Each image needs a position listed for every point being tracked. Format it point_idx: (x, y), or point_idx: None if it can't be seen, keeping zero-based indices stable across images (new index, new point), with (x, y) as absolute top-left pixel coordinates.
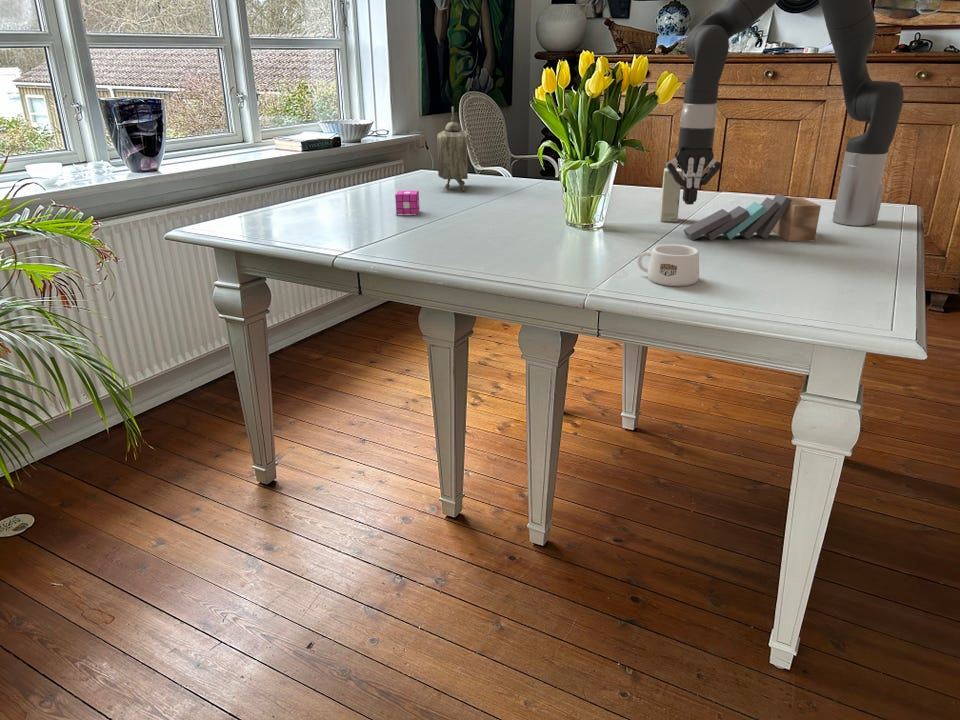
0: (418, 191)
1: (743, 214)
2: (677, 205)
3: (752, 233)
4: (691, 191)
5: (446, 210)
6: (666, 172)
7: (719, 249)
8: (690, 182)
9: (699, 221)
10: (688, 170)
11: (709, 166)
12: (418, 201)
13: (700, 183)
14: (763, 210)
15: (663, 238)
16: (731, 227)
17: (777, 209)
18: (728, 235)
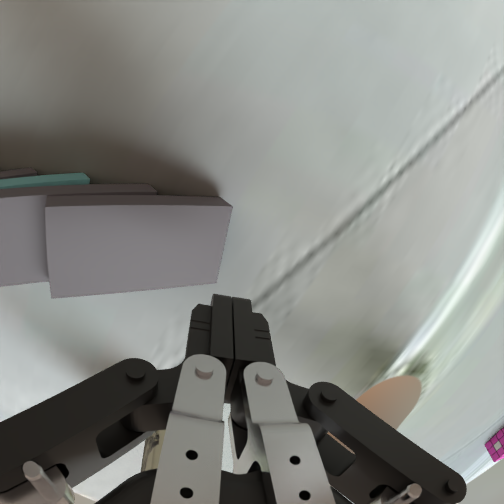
0: (495, 460)
1: (1, 196)
2: (160, 432)
3: (11, 171)
4: (237, 345)
5: (465, 451)
6: None
7: (191, 53)
8: (260, 393)
9: (154, 284)
10: (321, 475)
11: (70, 491)
12: (494, 449)
13: (164, 383)
14: None
15: (303, 254)
16: (63, 185)
17: None
18: (84, 177)
